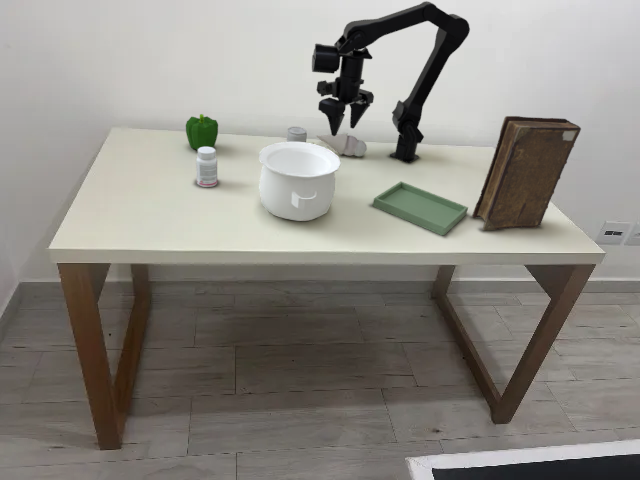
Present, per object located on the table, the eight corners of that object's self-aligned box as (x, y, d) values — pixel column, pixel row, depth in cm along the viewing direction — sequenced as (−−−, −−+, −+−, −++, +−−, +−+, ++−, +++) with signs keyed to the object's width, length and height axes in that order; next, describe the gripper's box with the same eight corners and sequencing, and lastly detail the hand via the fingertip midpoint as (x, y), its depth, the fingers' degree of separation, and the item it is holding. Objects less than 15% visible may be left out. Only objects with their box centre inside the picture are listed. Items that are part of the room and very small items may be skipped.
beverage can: (305, 173, 128) (310, 129, 121) (298, 181, 124) (303, 135, 117) (288, 169, 129) (291, 125, 122) (281, 176, 125) (284, 131, 118)
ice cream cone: (311, 149, 141) (361, 163, 143) (314, 142, 135) (366, 157, 137) (316, 129, 142) (366, 143, 144) (319, 122, 136) (371, 136, 138)
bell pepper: (192, 140, 138) (191, 105, 132) (221, 145, 137) (221, 109, 132) (181, 151, 131) (179, 115, 125) (211, 156, 130) (211, 119, 125)
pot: (254, 184, 120) (256, 136, 113) (324, 186, 123) (330, 139, 116) (260, 233, 101) (262, 179, 95) (342, 233, 105) (350, 181, 98)
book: (533, 216, 121) (572, 117, 107) (548, 232, 115) (591, 129, 102) (469, 215, 118) (501, 113, 104) (482, 231, 112) (517, 125, 98)
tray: (399, 188, 126) (400, 181, 125) (466, 215, 118) (468, 207, 117) (372, 205, 117) (374, 198, 116) (443, 235, 109) (445, 227, 107)
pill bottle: (221, 184, 118) (221, 151, 113) (204, 189, 115) (204, 155, 110) (209, 176, 120) (208, 144, 116) (192, 181, 117) (191, 148, 113)
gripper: (345, 62, 139) (338, 116, 148) (304, 72, 126) (299, 131, 135) (378, 72, 134) (369, 127, 143) (340, 83, 121) (332, 143, 130)
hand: (343, 131), depth 138 cm, fingers open, 9 cm apart
